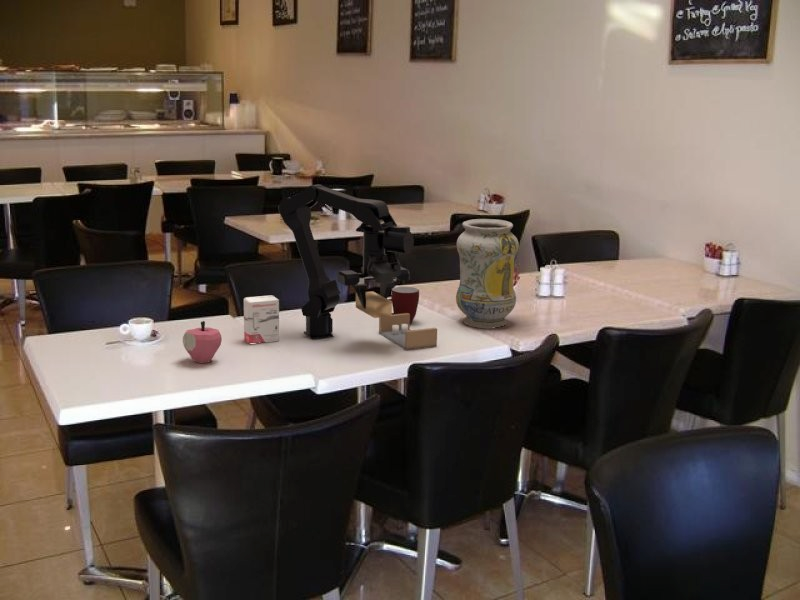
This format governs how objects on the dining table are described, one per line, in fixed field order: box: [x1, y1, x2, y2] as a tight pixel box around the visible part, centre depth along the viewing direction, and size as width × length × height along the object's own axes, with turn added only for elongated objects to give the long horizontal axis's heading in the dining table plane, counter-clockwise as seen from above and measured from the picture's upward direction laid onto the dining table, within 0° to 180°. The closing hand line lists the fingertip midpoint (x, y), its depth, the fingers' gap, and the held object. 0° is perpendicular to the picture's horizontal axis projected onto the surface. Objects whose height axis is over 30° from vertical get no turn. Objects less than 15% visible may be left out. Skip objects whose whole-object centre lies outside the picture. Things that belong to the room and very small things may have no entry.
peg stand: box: [378, 313, 438, 351], centre depth 246 cm, size 9×17×5 cm, turn 26°
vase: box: [455, 218, 520, 330], centre depth 262 cm, size 18×18×30 cm
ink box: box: [243, 294, 280, 344], centre depth 242 cm, size 9×5×12 cm, turn 118°
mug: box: [387, 286, 420, 324], centre depth 262 cm, size 10×8×10 cm
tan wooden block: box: [355, 291, 393, 319], centre depth 238 cm, size 5×12×4 cm, turn 26°
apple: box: [182, 320, 223, 363], centre depth 223 cm, size 10×9×10 cm
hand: (373, 307), depth 239 cm, fingers closed on tan wooden block, 5 cm apart
